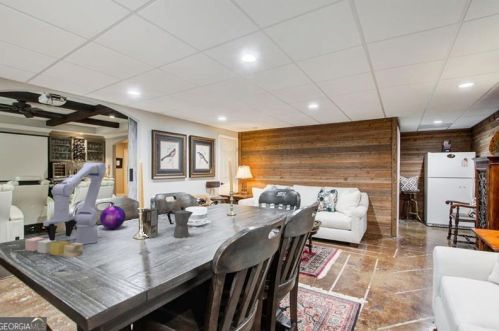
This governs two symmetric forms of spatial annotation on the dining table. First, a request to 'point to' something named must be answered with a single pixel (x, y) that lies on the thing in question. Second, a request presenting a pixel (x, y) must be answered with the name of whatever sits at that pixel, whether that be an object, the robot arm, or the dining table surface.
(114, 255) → the dining table surface
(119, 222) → the decorative orb
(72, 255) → the maple block
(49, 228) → the robot arm
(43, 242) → the grey block
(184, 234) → the coffeepot
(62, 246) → the mustard block
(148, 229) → the coffee box
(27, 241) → the pink block
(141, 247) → the dining table surface
